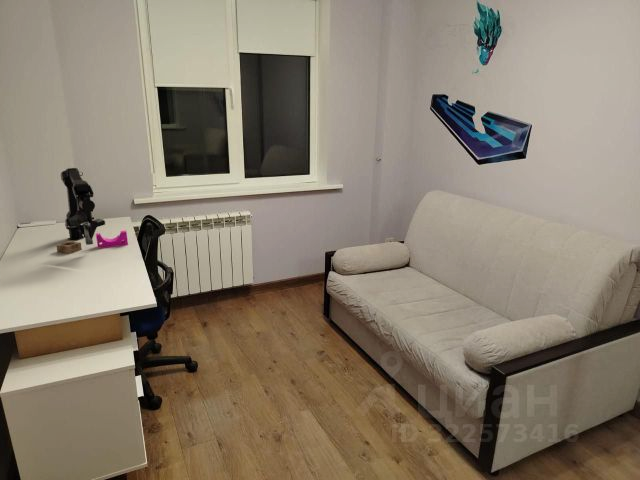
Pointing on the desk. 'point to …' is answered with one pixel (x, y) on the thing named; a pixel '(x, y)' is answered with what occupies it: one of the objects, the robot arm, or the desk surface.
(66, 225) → the robot arm
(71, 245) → the brown square frame
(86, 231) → the metal canister
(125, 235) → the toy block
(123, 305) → the desk surface
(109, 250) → the desk surface
